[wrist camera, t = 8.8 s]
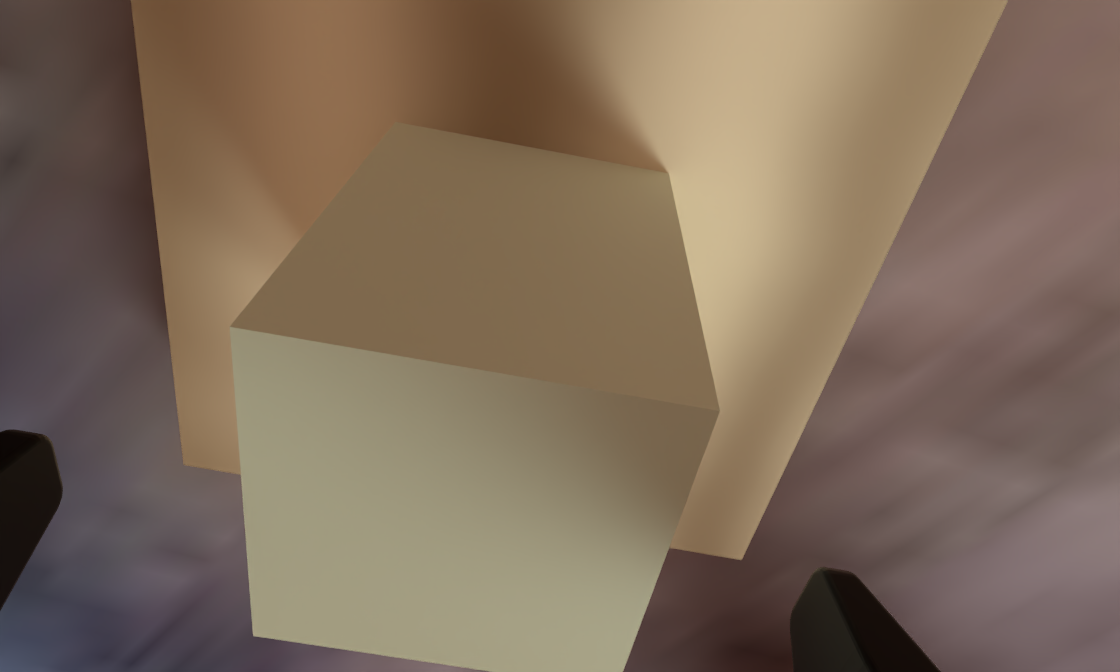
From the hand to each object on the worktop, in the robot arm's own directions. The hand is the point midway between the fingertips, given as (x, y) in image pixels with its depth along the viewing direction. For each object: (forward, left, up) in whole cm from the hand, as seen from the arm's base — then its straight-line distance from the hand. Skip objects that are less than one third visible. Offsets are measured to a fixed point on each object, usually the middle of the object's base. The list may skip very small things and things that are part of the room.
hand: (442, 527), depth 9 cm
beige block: (0, 0, -7) cm, 7 cm away
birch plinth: (0, 0, -10) cm, 10 cm away
